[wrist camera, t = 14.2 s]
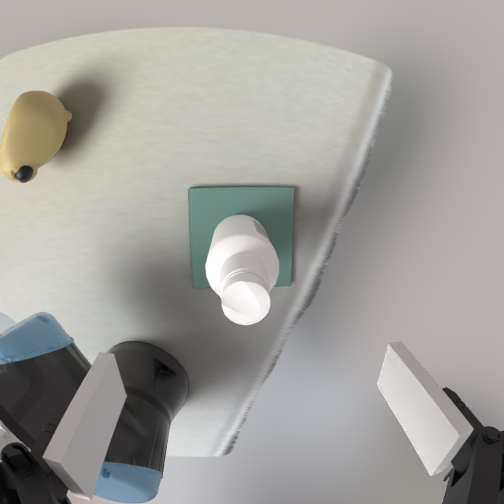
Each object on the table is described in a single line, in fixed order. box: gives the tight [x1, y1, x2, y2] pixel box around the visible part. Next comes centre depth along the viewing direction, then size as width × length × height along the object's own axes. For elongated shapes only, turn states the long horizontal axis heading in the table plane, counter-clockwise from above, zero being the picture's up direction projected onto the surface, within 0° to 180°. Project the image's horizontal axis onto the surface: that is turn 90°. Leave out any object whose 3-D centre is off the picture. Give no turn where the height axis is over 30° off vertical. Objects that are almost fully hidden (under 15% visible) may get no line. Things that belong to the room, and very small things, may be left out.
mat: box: [188, 187, 294, 288], centre depth 38 cm, size 13×13×1 cm
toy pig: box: [0, 91, 72, 183], centre depth 28 cm, size 10×12×11 cm
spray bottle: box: [205, 214, 279, 325], centre depth 29 cm, size 7×7×18 cm
